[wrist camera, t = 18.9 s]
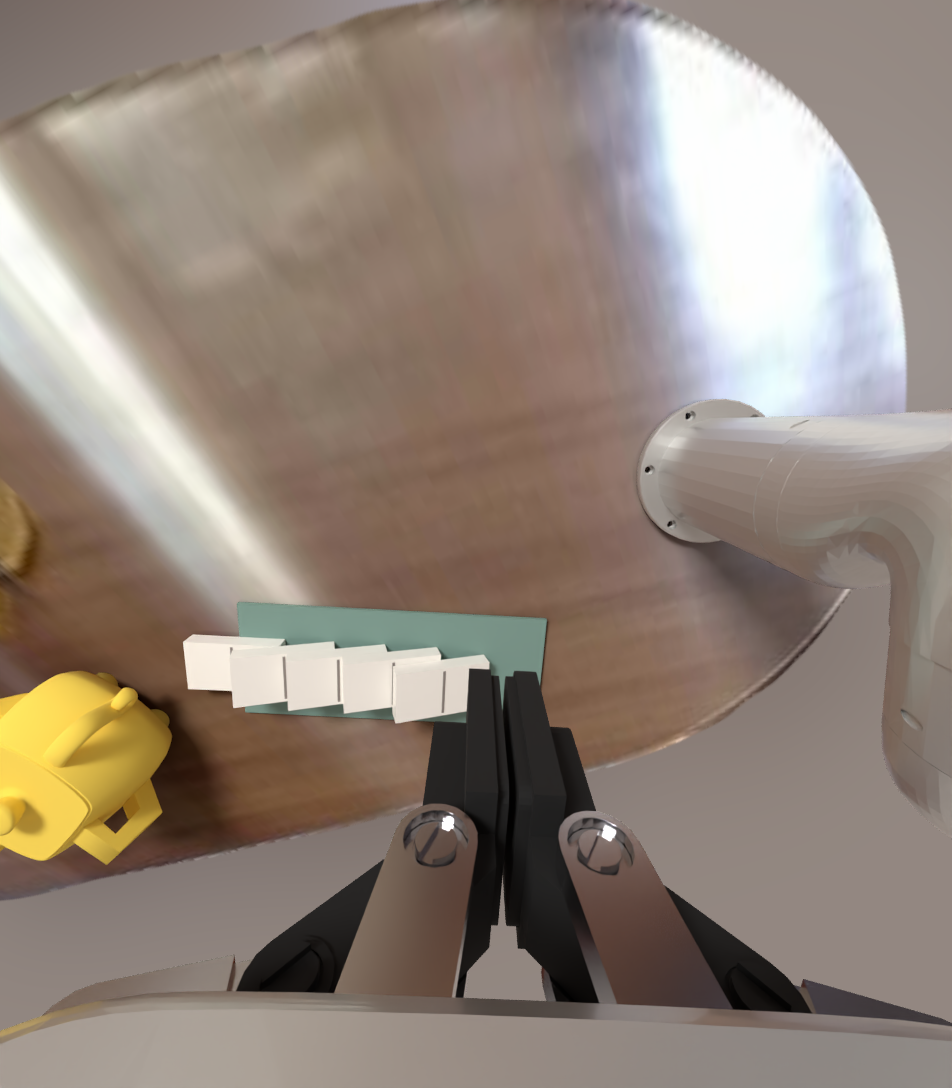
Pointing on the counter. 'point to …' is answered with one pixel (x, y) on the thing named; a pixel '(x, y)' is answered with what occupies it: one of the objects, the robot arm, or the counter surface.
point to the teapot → (78, 766)
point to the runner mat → (398, 641)
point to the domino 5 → (432, 687)
